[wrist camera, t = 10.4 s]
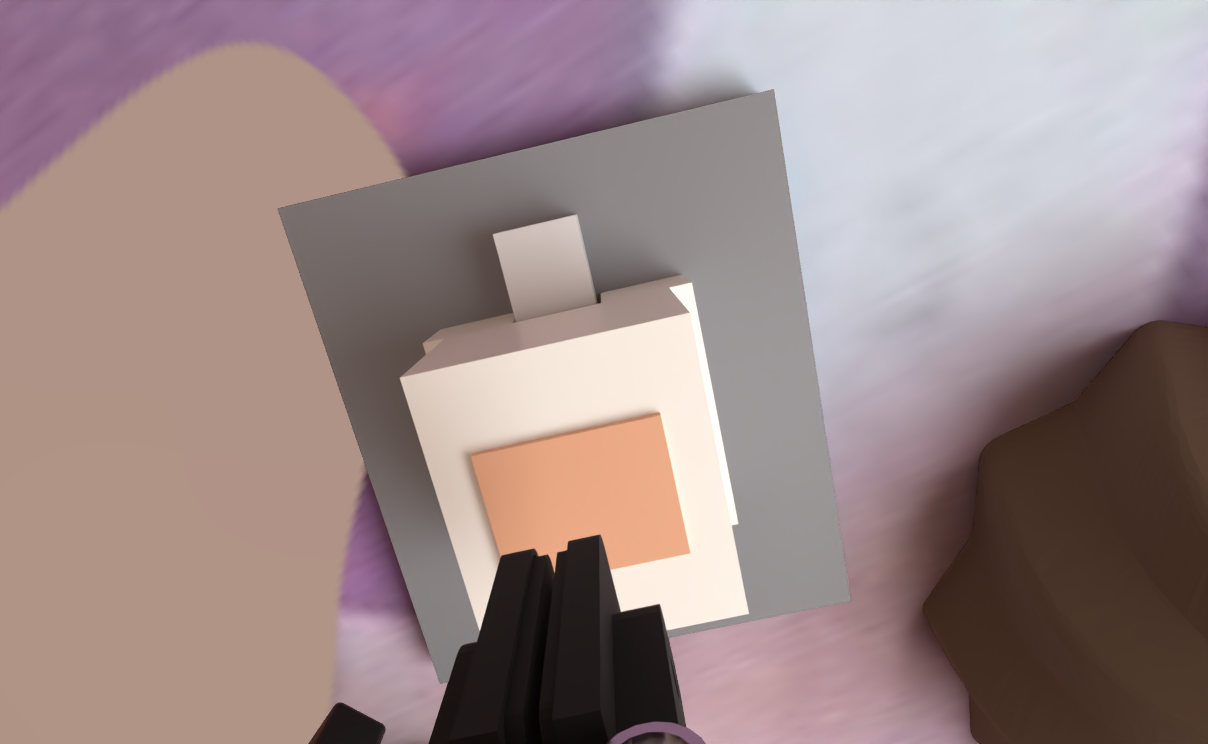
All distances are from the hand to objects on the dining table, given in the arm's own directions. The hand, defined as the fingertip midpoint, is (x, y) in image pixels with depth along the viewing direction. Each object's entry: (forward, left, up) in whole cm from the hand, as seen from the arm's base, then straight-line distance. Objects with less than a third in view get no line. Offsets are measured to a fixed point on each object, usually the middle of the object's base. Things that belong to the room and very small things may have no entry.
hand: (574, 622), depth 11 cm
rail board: (0, 0, -11) cm, 11 cm away
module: (-1, 0, -9) cm, 9 cm away
